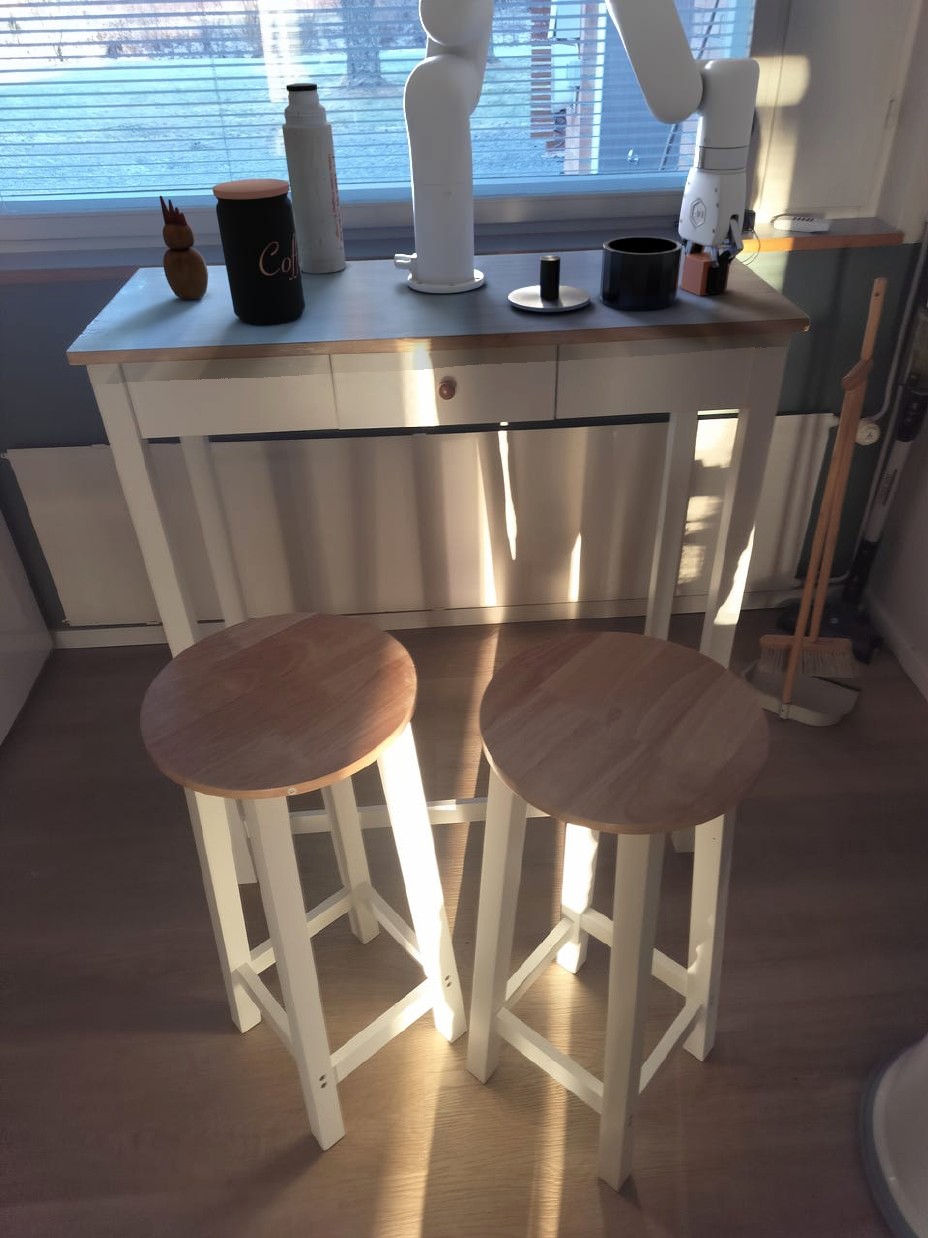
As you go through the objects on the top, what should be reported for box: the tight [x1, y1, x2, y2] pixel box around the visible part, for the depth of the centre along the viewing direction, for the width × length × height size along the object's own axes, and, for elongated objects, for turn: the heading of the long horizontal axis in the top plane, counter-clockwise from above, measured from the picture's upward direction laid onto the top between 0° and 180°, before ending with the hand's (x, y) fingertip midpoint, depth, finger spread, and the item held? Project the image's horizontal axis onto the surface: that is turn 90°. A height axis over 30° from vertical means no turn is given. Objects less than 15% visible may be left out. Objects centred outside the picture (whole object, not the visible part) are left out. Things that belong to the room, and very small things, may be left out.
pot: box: [599, 235, 683, 312], centre depth 131 cm, size 11×12×8 cm
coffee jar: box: [212, 178, 306, 326], centre depth 126 cm, size 11×11×18 cm
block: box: [680, 250, 731, 297], centre depth 136 cm, size 5×5×5 cm
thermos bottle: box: [281, 82, 347, 274], centre depth 146 cm, size 8×8×28 cm
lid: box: [508, 255, 591, 313], centre depth 131 cm, size 12×12×7 cm
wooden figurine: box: [159, 195, 209, 301], centre depth 137 cm, size 7×6×15 cm
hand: (703, 286), depth 137 cm, fingers closed on block, 5 cm apart
